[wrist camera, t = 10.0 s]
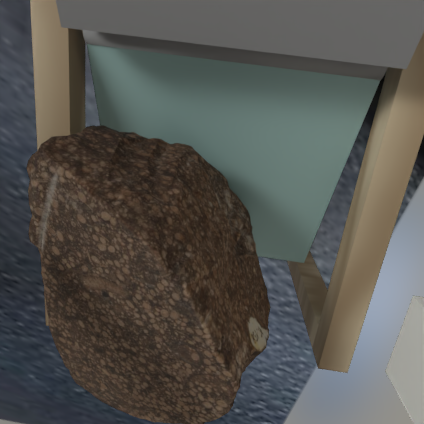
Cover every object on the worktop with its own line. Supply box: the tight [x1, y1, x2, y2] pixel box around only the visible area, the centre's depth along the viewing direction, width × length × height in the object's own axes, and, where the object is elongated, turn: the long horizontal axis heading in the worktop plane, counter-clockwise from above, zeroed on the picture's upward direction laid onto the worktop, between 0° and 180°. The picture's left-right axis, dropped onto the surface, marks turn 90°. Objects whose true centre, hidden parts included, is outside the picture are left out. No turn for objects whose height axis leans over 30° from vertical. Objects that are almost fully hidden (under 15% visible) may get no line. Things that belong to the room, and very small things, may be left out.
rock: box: [27, 125, 270, 424], centre depth 15 cm, size 12×10×10 cm
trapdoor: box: [56, 0, 424, 263], centre depth 16 cm, size 12×17×4 cm
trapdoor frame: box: [30, 0, 424, 373], centre depth 21 cm, size 16×18×13 cm
